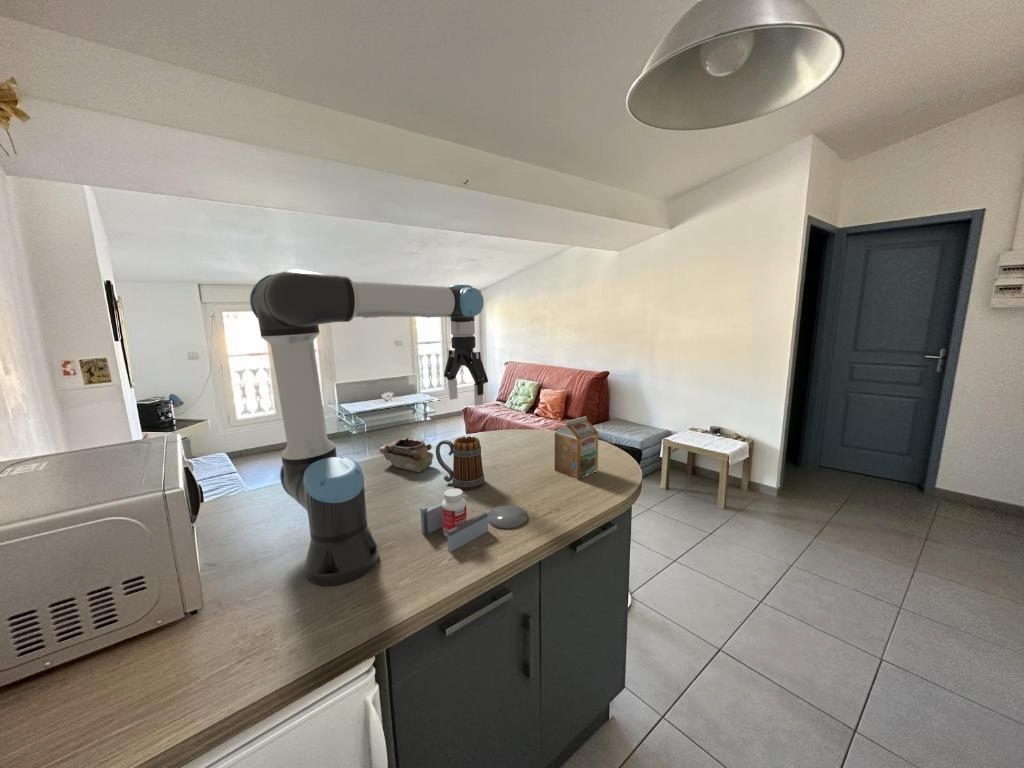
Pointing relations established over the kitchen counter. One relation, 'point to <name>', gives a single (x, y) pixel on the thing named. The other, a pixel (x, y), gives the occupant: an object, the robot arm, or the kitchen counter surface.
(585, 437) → the milk carton
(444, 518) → the pill bottle
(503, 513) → the coaster
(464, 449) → the mug
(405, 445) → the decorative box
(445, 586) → the kitchen counter surface
